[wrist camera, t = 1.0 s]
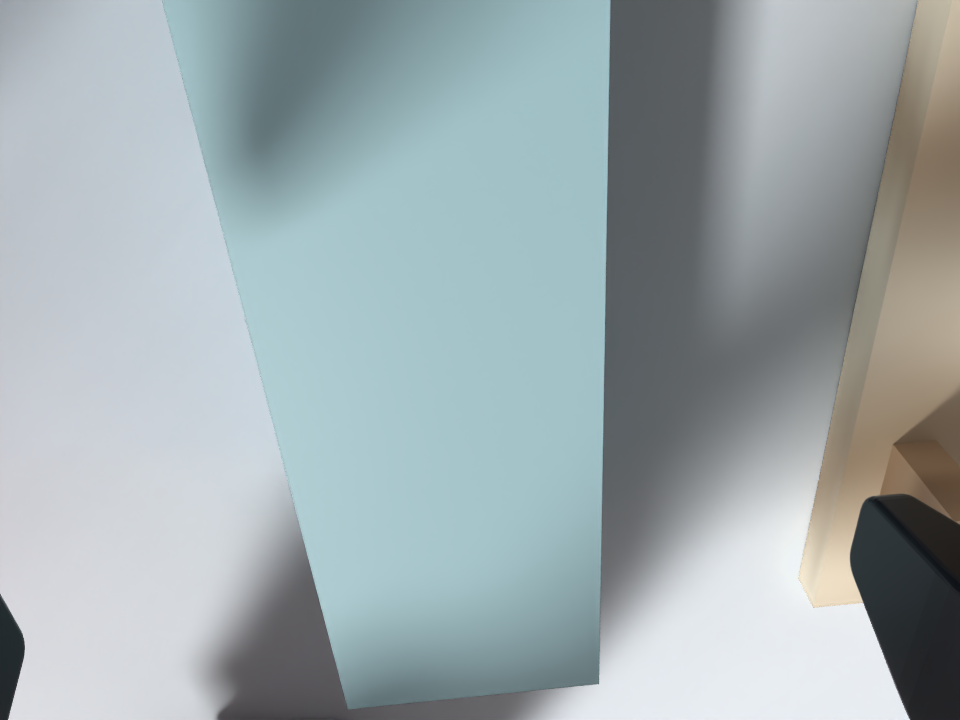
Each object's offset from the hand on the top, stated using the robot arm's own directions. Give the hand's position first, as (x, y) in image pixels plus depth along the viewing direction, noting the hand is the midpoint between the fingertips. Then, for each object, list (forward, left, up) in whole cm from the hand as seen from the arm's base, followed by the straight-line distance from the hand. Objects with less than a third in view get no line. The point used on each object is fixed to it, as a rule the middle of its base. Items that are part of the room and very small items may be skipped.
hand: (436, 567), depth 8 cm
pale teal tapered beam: (0, 0, -9) cm, 9 cm away
